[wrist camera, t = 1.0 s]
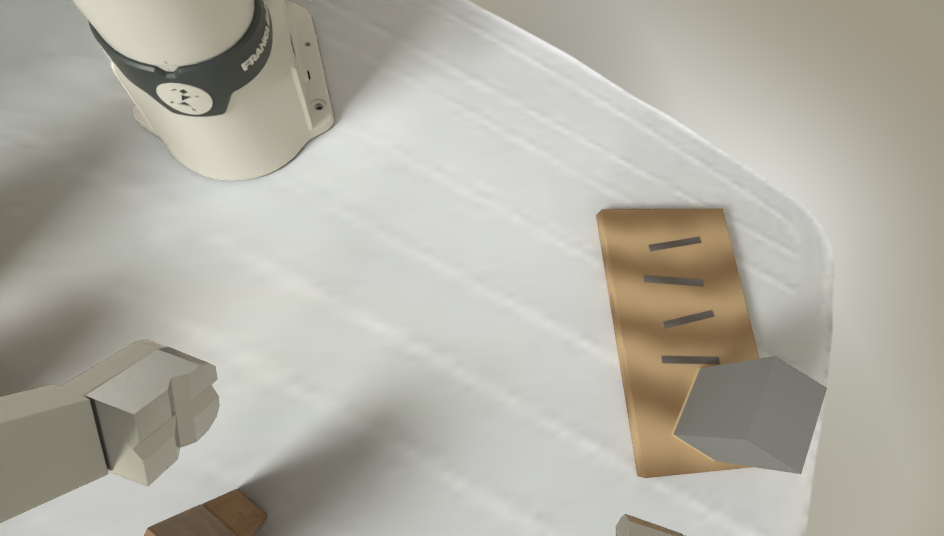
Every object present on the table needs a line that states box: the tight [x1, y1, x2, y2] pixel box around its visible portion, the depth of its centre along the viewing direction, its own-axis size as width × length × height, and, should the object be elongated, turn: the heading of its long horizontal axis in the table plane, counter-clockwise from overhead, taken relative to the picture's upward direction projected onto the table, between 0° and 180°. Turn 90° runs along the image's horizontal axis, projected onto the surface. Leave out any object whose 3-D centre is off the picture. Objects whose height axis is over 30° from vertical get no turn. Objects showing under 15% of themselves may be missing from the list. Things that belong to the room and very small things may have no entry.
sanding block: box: [671, 357, 827, 474], centre depth 39 cm, size 7×4×10 cm, turn 149°
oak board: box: [596, 209, 759, 478], centre depth 47 cm, size 26×14×2 cm, turn 4°
